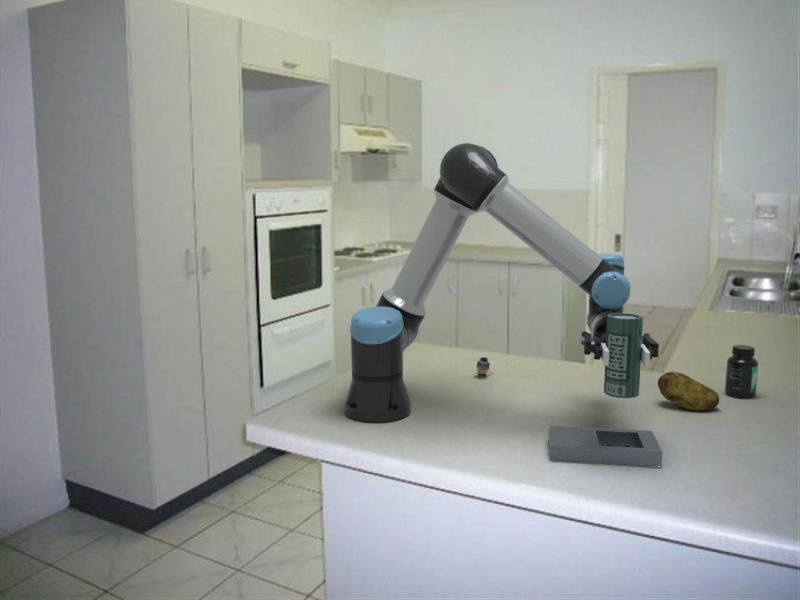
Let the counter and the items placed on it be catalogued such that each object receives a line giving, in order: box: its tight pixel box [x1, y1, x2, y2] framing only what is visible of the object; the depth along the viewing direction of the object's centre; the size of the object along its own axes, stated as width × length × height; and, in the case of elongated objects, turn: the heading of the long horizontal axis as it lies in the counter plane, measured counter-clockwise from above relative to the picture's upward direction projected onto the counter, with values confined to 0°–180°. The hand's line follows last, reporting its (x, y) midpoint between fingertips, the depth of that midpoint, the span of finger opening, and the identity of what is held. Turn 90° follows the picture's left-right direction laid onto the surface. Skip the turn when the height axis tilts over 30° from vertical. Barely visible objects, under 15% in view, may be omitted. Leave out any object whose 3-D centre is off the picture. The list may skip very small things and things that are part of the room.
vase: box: [474, 357, 494, 377], centre depth 187 cm, size 5×5×6 cm
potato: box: [657, 371, 720, 411], centre depth 161 cm, size 8×13×8 cm, turn 51°
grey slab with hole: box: [548, 425, 664, 468], centre depth 135 cm, size 20×11×3 cm, turn 80°
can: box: [603, 312, 644, 399], centre depth 132 cm, size 6×6×15 cm
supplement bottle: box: [724, 344, 759, 400], centre depth 170 cm, size 7×7×12 cm
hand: (627, 359), depth 127 cm, fingers closed on can, 6 cm apart
